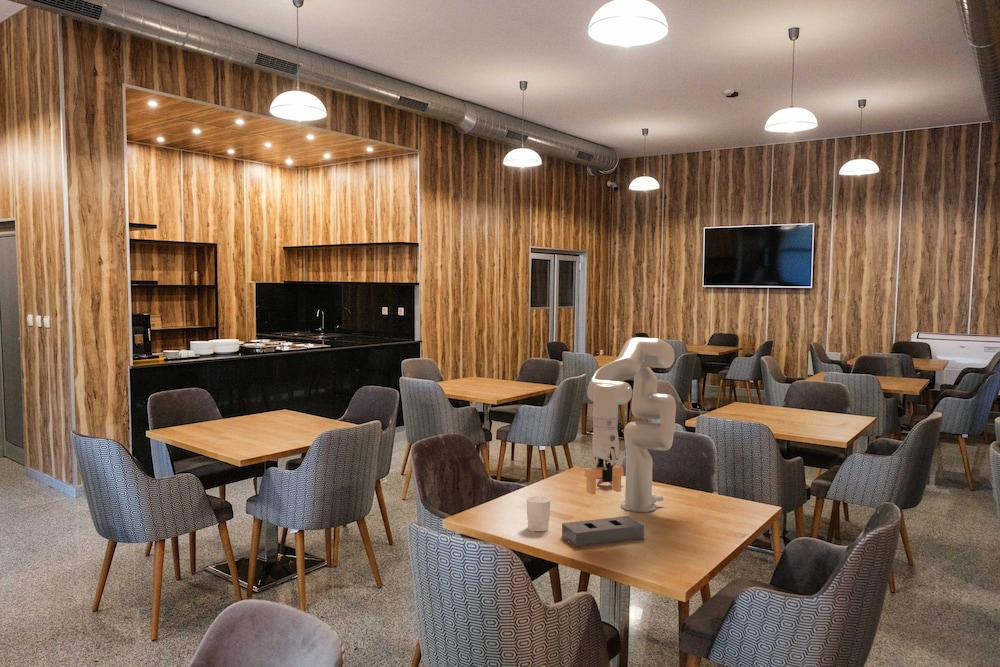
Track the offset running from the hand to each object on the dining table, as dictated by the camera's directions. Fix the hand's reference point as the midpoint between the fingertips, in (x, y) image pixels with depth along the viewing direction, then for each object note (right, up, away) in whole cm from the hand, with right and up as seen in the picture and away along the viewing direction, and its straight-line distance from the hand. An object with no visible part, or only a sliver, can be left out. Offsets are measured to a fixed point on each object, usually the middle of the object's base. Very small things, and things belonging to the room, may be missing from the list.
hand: (604, 479), depth 224 cm
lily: (+11, -16, +61) cm, 64 cm away
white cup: (-20, -18, +10) cm, 29 cm away
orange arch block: (0, -4, 0) cm, 4 cm away
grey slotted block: (0, -19, +1) cm, 19 cm away
